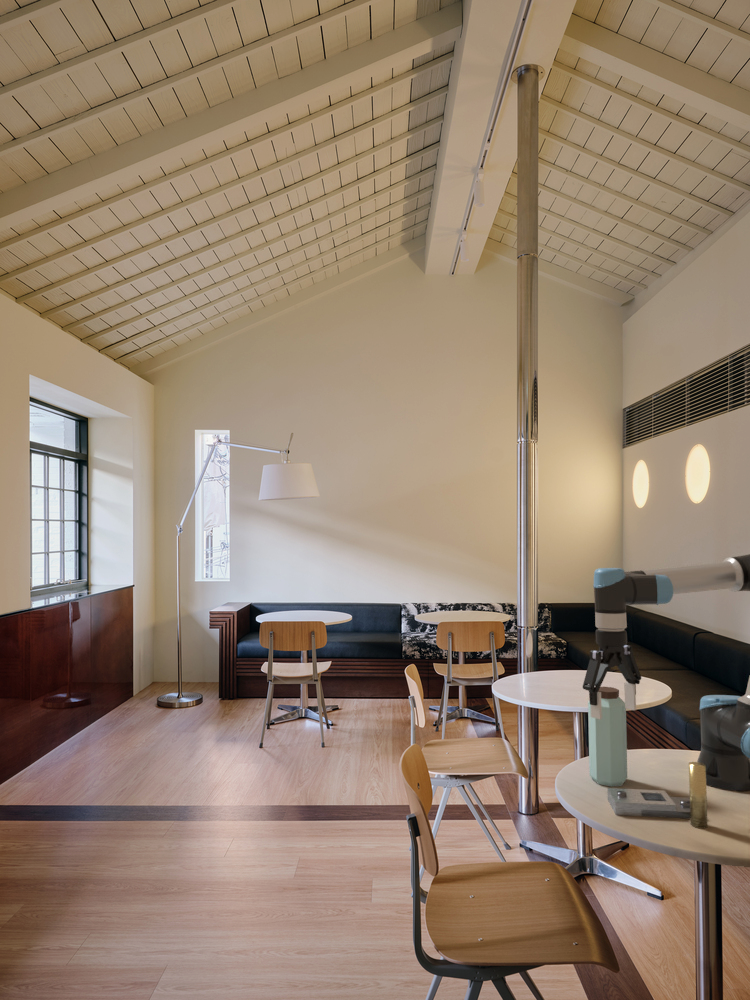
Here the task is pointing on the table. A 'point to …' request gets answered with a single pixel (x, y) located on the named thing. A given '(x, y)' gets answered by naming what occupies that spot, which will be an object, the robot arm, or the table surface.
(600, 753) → the water bottle
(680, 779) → the table surface
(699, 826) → the pin
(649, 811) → the chain ends
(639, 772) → the table surface
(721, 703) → the robot arm
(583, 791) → the table surface
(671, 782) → the table surface
